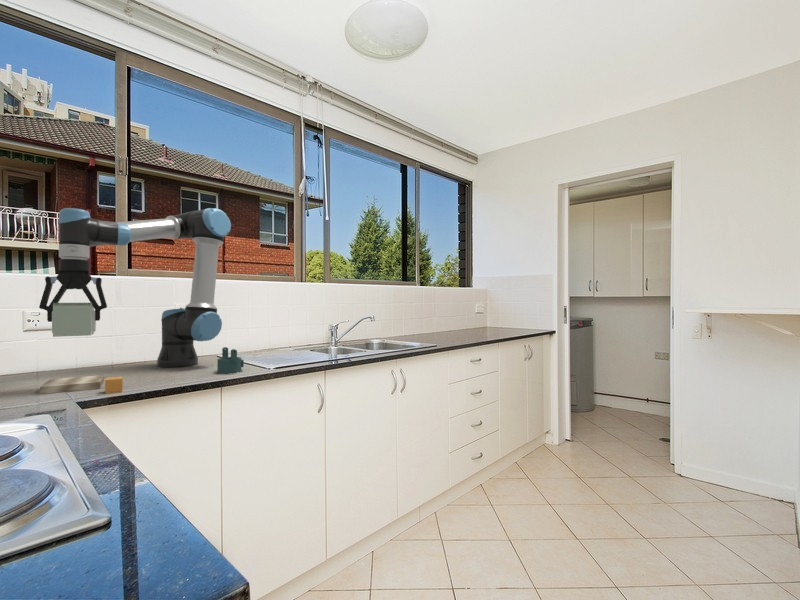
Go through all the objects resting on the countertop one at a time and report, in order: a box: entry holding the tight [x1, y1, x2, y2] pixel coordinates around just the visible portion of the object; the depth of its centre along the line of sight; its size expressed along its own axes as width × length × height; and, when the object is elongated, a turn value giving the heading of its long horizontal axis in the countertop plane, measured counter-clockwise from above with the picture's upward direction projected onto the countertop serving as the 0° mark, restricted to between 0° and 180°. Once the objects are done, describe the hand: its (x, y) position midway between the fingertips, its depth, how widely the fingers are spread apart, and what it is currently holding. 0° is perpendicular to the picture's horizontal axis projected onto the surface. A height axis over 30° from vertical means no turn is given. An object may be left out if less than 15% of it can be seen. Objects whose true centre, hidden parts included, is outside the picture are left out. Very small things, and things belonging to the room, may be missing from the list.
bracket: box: [217, 346, 245, 375], centre depth 156 cm, size 9×9×9 cm
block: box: [104, 376, 124, 394], centre depth 122 cm, size 4×4×4 cm
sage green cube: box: [52, 302, 95, 338], centre depth 128 cm, size 9×9×10 cm
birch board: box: [39, 374, 105, 395], centre depth 128 cm, size 14×14×2 cm
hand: (74, 331), depth 128 cm, fingers closed on sage green cube, 9 cm apart
